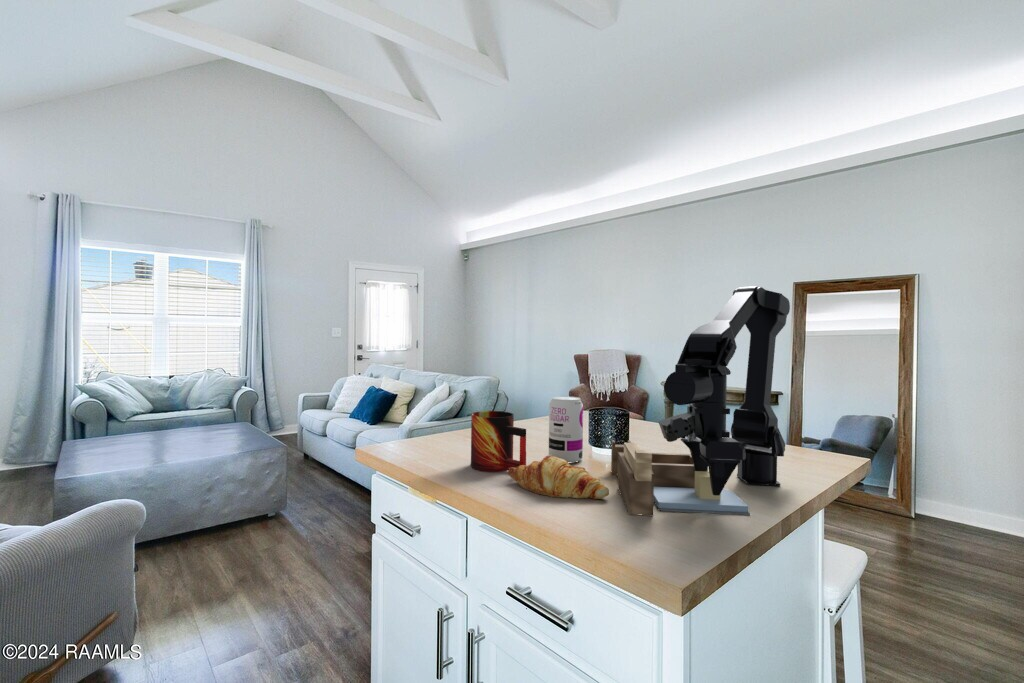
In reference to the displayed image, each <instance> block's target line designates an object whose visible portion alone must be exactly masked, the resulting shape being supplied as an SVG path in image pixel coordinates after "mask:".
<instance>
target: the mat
mask: <svg viewBox="0 0 1024 683" xmlns="http://www.w3.org/2000/svg"><path fill="white" fill-rule="evenodd" d="M654 502H655V501H654ZM654 504H655V505H656V503H654ZM657 507H658V506H656V508H657ZM658 509H659V510H658ZM657 510H658V511H659V512H674V511H675V512H677V513H698V514H700V513H701V514H718V515H719V514H723V515H740V516H742V515H744V516H750V515H751V512H735V511H713V510H692V509H670V508H657ZM660 510H661V511H660Z"/></svg>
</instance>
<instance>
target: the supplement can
mask: <svg viewBox="0 0 1024 683" xmlns="http://www.w3.org/2000/svg"><path fill="white" fill-rule="evenodd" d="M583 430H584V404H583V401H582V399H581V397H577V396H568V395H567V396H565V395H564V396H563V395H562V396H561V395H560V396H553V397H551V400H550V402H549V404H548V456H551V457H553V456H554V457H558V458H561V459H564V460H565V461H567V462H576V461H579V460H580V461H581V460H582V459H583V455H584V454H583V452H584V451H583V449H584V448H583V446H584V445H583V442H584V436H583V435H584V431H583ZM580 461H579V462H580Z"/></svg>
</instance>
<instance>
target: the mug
mask: <svg viewBox="0 0 1024 683" xmlns="http://www.w3.org/2000/svg"><path fill="white" fill-rule="evenodd" d="M514 419H515V418H514V413H512V412H510V411H509V412H508V411H501V410H500V411H499V410H484V411H483V410H482V411H475V412H474V411H473V413H471V421H470V422H471V423H470V424H471V427H470V429H471V430H470V431H471V432H470V434H471V435H470V468H471V469H472V470H474V471H477V472H482V473H500V472H501V473H504V472H508V471H509V468H511V467H514V468H517V467H518V466H520V465H526V466H527V428H523V427H522V428H521V427H517V426H514ZM514 436H517V437H519V460H517V459H514ZM507 470H508V471H507Z"/></svg>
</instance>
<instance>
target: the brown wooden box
mask: <svg viewBox="0 0 1024 683" xmlns="http://www.w3.org/2000/svg"><path fill="white" fill-rule="evenodd" d="M627 443H632V441H631V440H630V439H629V440H627ZM651 453H652V477H651V481H636V479H635V477H634V476H633V473H632V471H631V469H630V468H629V466H628V464H627V462H626V460H625V459H624V444H616V441H615V440H614V439H611V455H610V456H611V459H610V460H611V462H610V464H611V466H610V468H611V469H610V470H611V471H612V472H611V473H612V475H617V478H618V484H617V488H619V489H618V491H619V493H621V494H620V496H621V498H623V499H622V501H623V500H624V501H623V504H624V503H625V504H624V506H625V505H626V506H625V509H626V508H627V509H626V511H627V510H628V511H627V513H628V515H629V514H642V515H641V516H647V515H653V516H654V504H655V503H654V487H678V488H695V469H694V465H693V460H692V456H691V453H675V452H674V453H669V452H666V453H665V452H664V453H663V452H651ZM707 472H709V467H708V468H707Z"/></svg>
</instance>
